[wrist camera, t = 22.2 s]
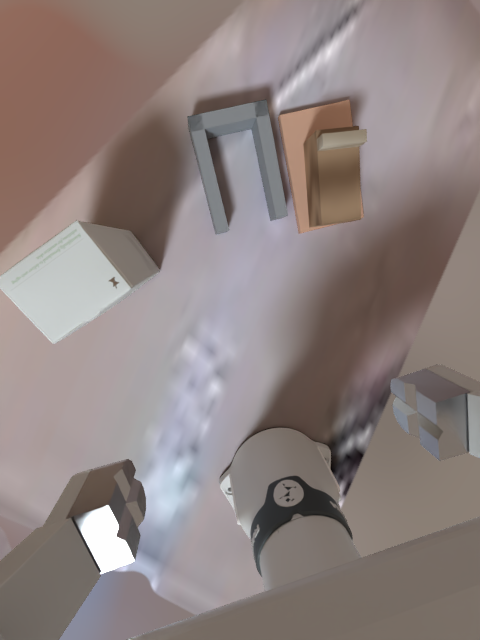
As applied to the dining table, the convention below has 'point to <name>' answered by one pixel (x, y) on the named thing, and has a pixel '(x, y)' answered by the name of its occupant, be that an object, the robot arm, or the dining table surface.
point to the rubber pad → (293, 137)
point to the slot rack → (260, 124)
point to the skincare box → (77, 277)
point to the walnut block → (333, 175)
